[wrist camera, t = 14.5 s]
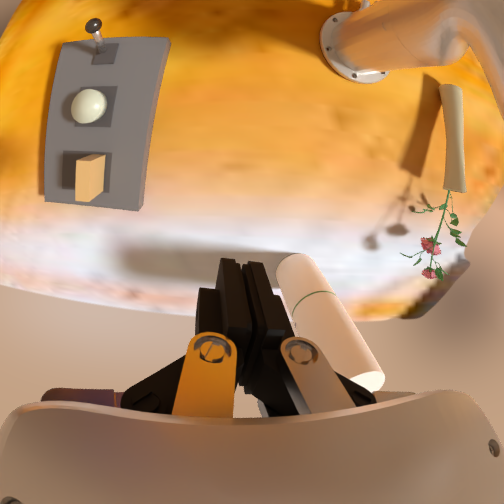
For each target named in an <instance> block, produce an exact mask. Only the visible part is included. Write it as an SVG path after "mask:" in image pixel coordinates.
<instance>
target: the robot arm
mask: <svg viewBox="0 0 504 504" xmlns="http://www.w3.org/2000/svg"><path fill="white" fill-rule="evenodd" d="M320 46H321V50H322V52H323V55H324V57H325V58H326V60H327V62H328V63H329V64H330V65H331V67H332V68H333V69H334V70H335V71H336V72H337V73H338V74H340V75H341V76H343V77H344V78H346V79H348V80H350V81H352V82H356V83H360V84H371V83H376V82H379V81H381V80H383V79H384V78H385V77H386V76H387V75H388V73H389V72H390V71H392V70H399V69H408V68H418V67H430V66H445V65H450V64H453V63H455V62H457V61H458V60H459V59H461V57H462V56H463V55H464V54H465V52H466V51H467V49H468V47H469V46H470V47H471V48H472V50H473V52H474V54H475V56H476V57H477V59H478V61H479V62H480V64H481V66H482V68H483V70H484V73H485V75H486V77H487V80H488V82H489V84H490V87H491V89H492V92H493V94H494V97H495V100H496V103H497V105H498V108H499V111H500V113H501V116H502V118H503V120H504V0H380V1H375V2H374V4H373V5H371V6H370V2H368V1H366V0H361V4H360V9H358V10H357V11H355V12H340V13H337V14H335V15H333V16H331V17H330V18H328V19H327V20H326V21H325V22H324V24H323V26H322V28H321V31H320ZM326 48H327V49H328V51H327V49H326ZM352 76H353V77H352ZM195 326H196V327H195V336H194V337H193V338H192V339H191V341H190V343H189V345H188V349H187V353H186V355H184V356H183V357H181V358H179V359H178V360H176V361H174V362H173V363H171V364H170V365H168V366H166V367H165V368H163V369H161V370H160V371H158V372H156V373H154V374H153V375H151V376H149V377H147V378H146V379H144V380H142V381H140V382H139V383H137V384H135V385H134V386H132V387H130V388H129V389H127V390H126V391H125V392H119V393H118V392H114V390H113V389H110V390H109V389H106V390H105V389H103V390H101V389H100V390H99V389H71V388H52V389H50V390H48V391H46V393H45V394H44V395H43V396H42V398H41V402H34V403H29V404H25V405H22V406H20V407H18V408H16V409H15V410H14V411H12V412H11V413H10V414H9V416H8V417H7V418H6V420H5V422H4V423H3V425H2V427H1V429H0V504H504V448H503V446H502V444H501V442H500V440H499V438H498V436H497V434H496V433H495V431H494V429H493V427H492V426H491V424H490V422H489V420H488V419H487V417H486V416H485V414H484V413H483V411H482V410H481V408H480V407H479V405H478V404H477V403H476V402H475V400H474V399H473V398H472V397H471V396H470V395H468V394H466V393H464V392H461V391H454V390H435V391H427V392H423V393H419V394H415V393H413V392H388V391H373V392H372V393H371V392H370V391H369V390H367V389H366V388H364V387H362V386H360V385H359V384H357V383H355V382H353V381H351V380H350V379H348V378H346V377H344V376H342V375H341V374H339V373H337V372H335V371H334V370H333V369H332V367H331V365H330V364H329V362H328V361H327V359H326V357H325V356H324V354H323V353H322V351H321V349H320V348H319V347H318V346H317V345H316V344H315V343H314V342H312V341H310V340H308V339H306V338H302V337H295V335H294V332H293V330H292V327H291V324H290V321H289V319H288V316H287V313H286V311H285V308H284V305H283V303H282V300H281V298H280V296H278V295H274V294H273V291H272V288H271V286H270V283H269V280H268V277H267V274H266V271H265V268H264V265H263V263H260V262H252V261H249V262H248V264H243V266H242V270H241V267H240V264H239V263H236V262H235V259H227V258H221V260H220V265H219V270H218V276H217V282H216V287H215V289H209V288H199V293H198V301H197V309H196V324H195ZM238 383H239V386H244V392H245V394H252V395H253V396H255V397H256V398H258V401H257V403H258V407H259V410H260V413H261V415H262V418H233V406H234V393H235V390H236V387H237V384H238Z"/></svg>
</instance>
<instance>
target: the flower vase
mask: <svg viewBox="0 0 504 504" xmlns="http://www.w3.org/2000/svg"><path fill="white" fill-rule="evenodd" d="M438 88H439V92H440V97H441V101H442V107H443V114H444V122H445V131H446V163H445V177H444V185H443V189H444V190H448V194H447V199H446V203H445V204H443V205H441V207H440V206H439V207H440V208H439V210H441V209H444V211H443V215H442V219H441V222H440V225H439V228H438V231H437V233H436V236H435V238H434V239H433V237H432V236H431V238H424V237H423V238H421V239H426V240H421V241H422V243H421V244H422V247H423V249H424V251H425V250H426V251H427V253H431V255H432V256H431V262H430V267H427V268H426V269H425V270H423V271H422V272H423V273H422V272H421V273H422V275H424V276H425V277H427V278H428V279H429V278H430V279H434V277H435V278H437V277H438V278H439V279H440V280H442V281H443V274H442V272H441V271H443V270H442V268H441V266H440V267H439V268H440V269H439V268H436V270H435V269H432V268H431V263H432V257H433V254H434V255H437V254H439V255H440V254H441V253H440V252H441V250H439V249H440V248H439V245H440V244H442V243H438V242H437V241H436V240H437V237H438V234H439V231H440V228H441V225H442V221H443V218H444V214H445V210H446V208H447V201H448V197H449V193H450V190H451V191H455V192H461V193H465V192H467V191H466V184H465V164H464V145H463V134H464V131H463V100H462V89H461V88H460V87H458V86H455V85H451V84H444V85H440V86H439V87H438ZM450 195H451V194H450ZM450 198H452V196H451V197H450ZM427 207H428V208H430V209H433V208H432V207H431V206H430V205H429V204H428V205H427ZM435 208H438V207H435ZM423 210H424V212H425V211H430V212H433V211H432V210H428V209H426V210H425V209H423ZM433 210H434V209H433ZM412 212H414V211H412ZM424 212H415V213H424ZM448 212H449V211H448ZM452 212H453V206H452ZM449 213H450V212H449ZM450 217H452V218H455V219H454V220H453V221H452V222H451V223H450V224H453V225H455V226H457V225H458V223H459V222H458V218H457V215H456V214H454V213H452V214H450ZM444 220H445V219H444ZM451 220H452V219H451ZM445 222H446V221H445ZM446 224H447V223H446ZM447 226H448V225H447ZM448 228H449V229H450V230H451V231H452V232H450V235H452V236H454V237H460V236H458V234H460V233H462V232H460V231H458V230H455V229H452V228H450V227H449V226H448ZM460 238H461V237H460ZM435 239H436V240H435ZM455 242H456V243H457V244H459V245H461V246H465V247H467V246H466V245H465V244H464V243H463V242H462V241H460V240H459V239H458V238H456V241H455ZM424 251H423V252H424ZM421 252H422V251H421ZM419 253H420V252H419ZM401 254H402V253H401ZM417 254H418V253H417ZM421 254H422V253H421ZM402 255H404V254H402ZM415 255H416V254H415ZM415 255H414V256H415ZM404 256H406V255H404ZM420 256H421V255H420ZM406 257H409V258H412V257H413V256H411V257H410V256H406ZM421 260H422V259H421V258H419V260H418V261H417V262H416V263H415V264H414V265H416V264H418V263H419V262H420V261H421ZM434 262H435V261H434ZM436 263H438V262H436ZM436 263H435V264H436ZM438 264H439V263H438ZM414 265H413V266H414ZM439 265H440V264H439ZM436 267H437V265H436ZM443 272H444V271H443ZM444 273H446V272H444ZM446 274H447V273H446ZM448 275H449V274H448ZM436 276H437V277H436Z"/></svg>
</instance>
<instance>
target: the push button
mask: <svg viewBox="0 0 504 504" xmlns="http://www.w3.org/2000/svg"><path fill="white" fill-rule="evenodd" d="M106 108H107V99H106V96H105V95H104V94H103V93H102V92H101V91H98V90H93V89H86V90H83V91H81V92H80V93H79V94H77V96H76V97H75V98H74V100H73V102H72V106H71V113H72V116H73V118H74V119H75V120H76V121H77V122H79V123H92V122H95V121H97V120H99V119H100V118H101V117H102V116H103V115H104V113H105V111H106Z"/></svg>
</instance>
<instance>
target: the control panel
mask: <svg viewBox="0 0 504 504" xmlns="http://www.w3.org/2000/svg"><path fill="white" fill-rule="evenodd" d="M103 40H104V43H105V46H106V48H107V50H106V52H104V53H100V52H99V50H98V48H97V45H96V43H95V40H94V39H90V40H81V41H74V42H67V43H63V45H62V49H61V52H60V56H59V60H58V64H57V68H56V73H55V78H54V82H53V88H52V93H51V99H50V106H49V113H48V121H47V131H46V143H45V163H44V195H45V202H55V203H66V204H76V205H85V206H95V207H104V208H113V209H122V210H130V211H139V210H140V208H141V207H142V206H143V201H144V189H145V179H146V170H147V162H148V155H149V147H150V141H151V134H152V128H153V122H154V116H155V111H156V106H157V101H158V96H159V91H160V86H161V82H162V78H163V73H164V69H165V65H166V61H167V57H168V54H169V50H170V46H171V42H170V40H169V38H164V37H116V38H103ZM86 89H93V90H98V91H101V92H102V93H103V94H104V95H105V96H106V99H107V108H106V111H105V113H104V115H103V116H102V117H101V118H100V119H99V120H97V121H95V122H92V123H79V122H77V121H76V120H75V119H74V118H73V116H72V113H71V106H72V102H73V100H74V98H75V97H76V96H77V94H79V93H80V92H81V91H83V90H86ZM92 154H100V155H106V156H105V168H104V183H103V191H102V192H101V193H100V194H99V195H97V196H96V197H95V198H94V199H92V200H91V201H90V202H83V201H75V183H76V160H79V159H81V158H84V157H86V156H89V155H92Z"/></svg>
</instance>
